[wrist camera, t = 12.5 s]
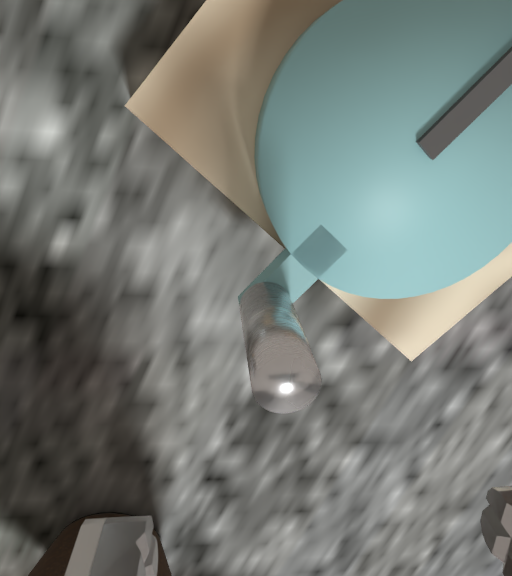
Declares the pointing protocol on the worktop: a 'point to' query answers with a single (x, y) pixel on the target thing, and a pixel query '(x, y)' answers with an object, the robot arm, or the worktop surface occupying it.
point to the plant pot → (57, 557)
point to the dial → (378, 167)
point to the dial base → (241, 140)
